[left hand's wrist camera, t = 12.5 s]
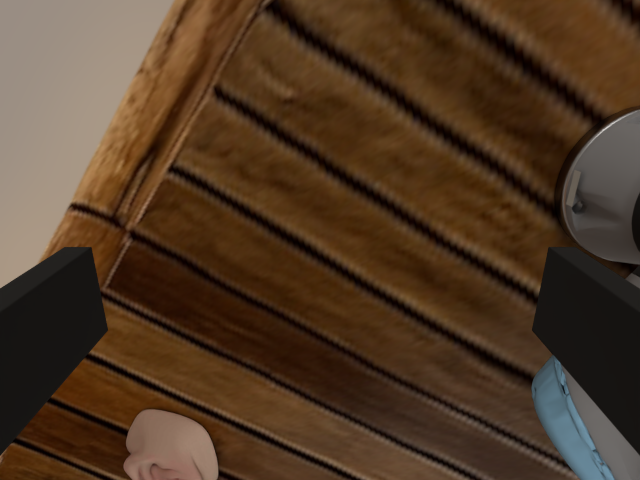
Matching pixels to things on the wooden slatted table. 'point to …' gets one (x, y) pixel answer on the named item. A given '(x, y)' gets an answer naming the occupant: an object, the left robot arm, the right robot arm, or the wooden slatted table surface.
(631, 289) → the left robot arm
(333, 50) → the wooden slatted table surface
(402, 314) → the wooden slatted table surface
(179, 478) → the anatomical model
